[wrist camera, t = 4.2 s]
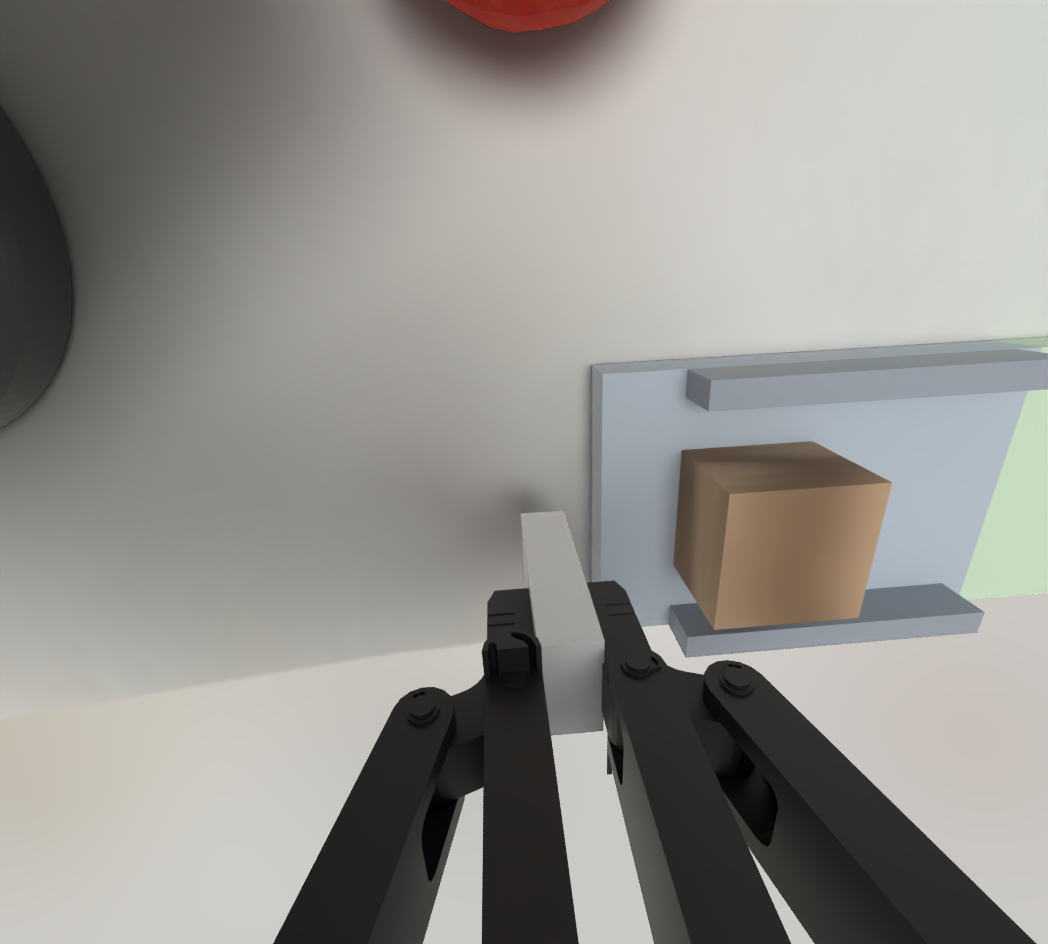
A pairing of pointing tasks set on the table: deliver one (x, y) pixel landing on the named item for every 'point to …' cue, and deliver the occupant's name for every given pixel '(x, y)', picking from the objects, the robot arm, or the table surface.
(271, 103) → the table surface
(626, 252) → the table surface
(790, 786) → the robot arm
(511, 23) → the apple
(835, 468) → the block
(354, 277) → the table surface
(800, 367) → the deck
